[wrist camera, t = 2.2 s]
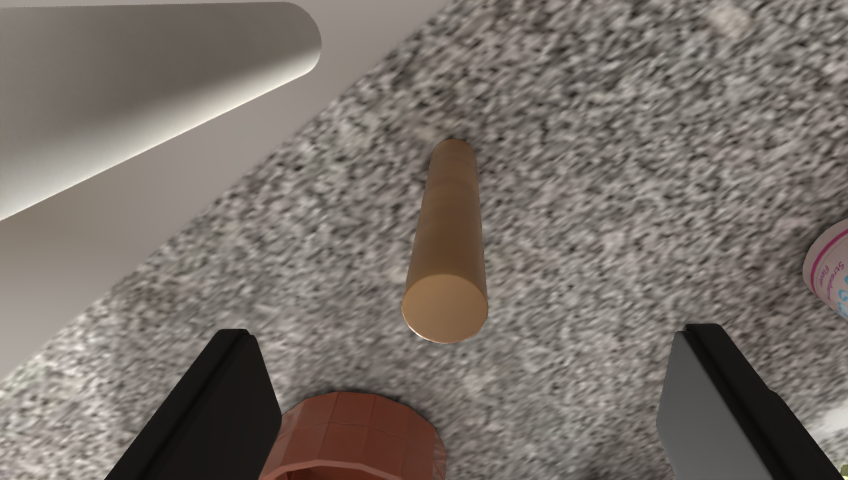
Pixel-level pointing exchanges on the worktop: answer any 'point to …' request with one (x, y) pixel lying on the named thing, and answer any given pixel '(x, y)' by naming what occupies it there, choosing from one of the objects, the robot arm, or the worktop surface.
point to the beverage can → (829, 268)
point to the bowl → (355, 441)
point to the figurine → (844, 472)
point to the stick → (448, 251)
